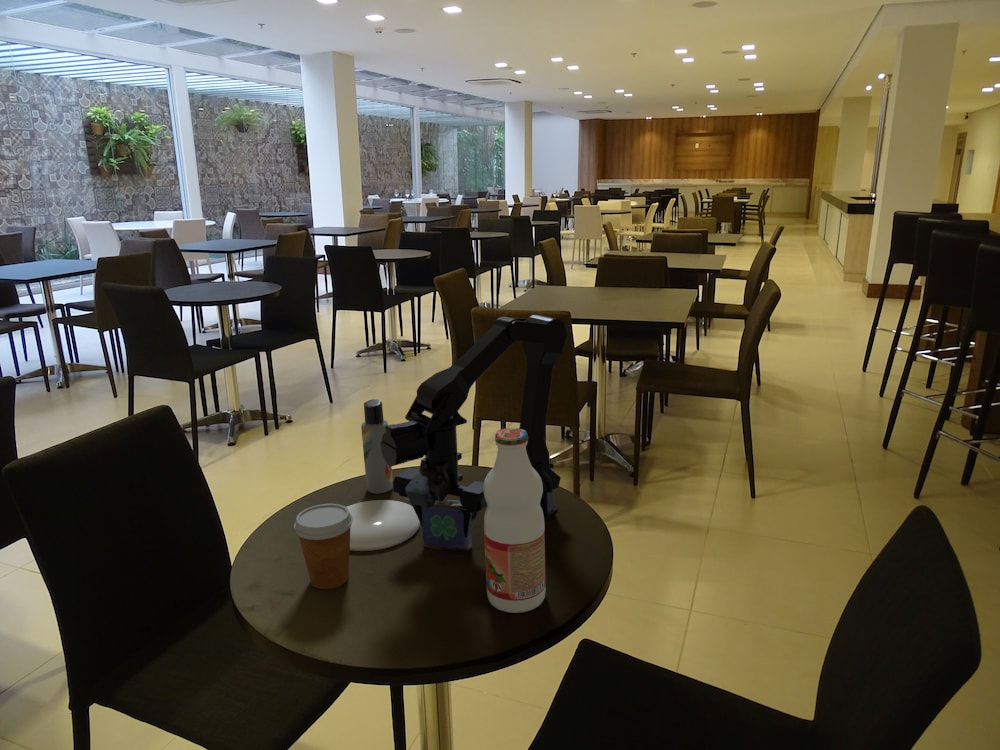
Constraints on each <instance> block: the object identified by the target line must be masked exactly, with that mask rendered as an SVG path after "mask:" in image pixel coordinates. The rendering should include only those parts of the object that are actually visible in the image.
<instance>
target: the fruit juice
mask: <svg viewBox="0 0 1000 750" xmlns="http://www.w3.org/2000/svg"><path fill="white" fill-rule="evenodd" d="M494 441H495V445H496V446H497V453H496V458H495V461H494V464H493V467H492V468H491V469H490V470H489V472H488V473H487V474H486V477H485V478H484V481H483V483H484V486H483V492H484V497H485V500H486V503H487V506H486V508H485V511H484V517H483V535H484V556H485V557H484V558H485V561H484V562H485V576H486V577H485V578H486V579H485V580H486V581H485V582H486V595H487V599H488V602H489V603H490V605H492V606H493V607H494V608H495V609H497V610H499V611H502V612H505V613H510V614H511V613H512V614H513V613H514V614H515V613H516V614H520V613H526V612H529V611H533V610H535V609H536V608H538V607H540V605H541V604H542V603H543V602H544V600H545V598H546V591H547V589H546V550H545V549H546V545H545V544H546V543H545V541H546V539H545V533H546V531H545V530H546V529H545V521H544V515H543V511H542V508H541V506H540V501H541V497H542V493H543V485H542V480H541V477H540V476H539V474H538V473H537V472H536V470H535V469H534V468H533V467H532V465H531V463H530V461H529V458H528V455H527V451H526V445H527V443H528V434H527V432H526V431H525V430H523V429H519V428H517V427H508V428H501V429H499V430H497V431H496V433H495V435H494Z"/></svg>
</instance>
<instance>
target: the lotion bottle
mask: <svg viewBox="0 0 1000 750" xmlns="http://www.w3.org/2000/svg"><path fill="white" fill-rule="evenodd" d="M383 409H384V408H383V402H382V401H381V400H379V399H369V400H367V401H364V402H363V410H364V411H363V413H364V422H362V423H361V425H360V428H361V438H362V439H361V440H362V449H363V459H364V460H363V461H364V462H363V463H364V472H365V482H366V490H367V491H368V492H369V493H370V494H371V493H372V494H375V495H377V494H379V495H380V494H385V493H388V492H390V491H391V490H393V483H392V482H393V480H394V478H393V466H390V465H388V464H387V462H386V461H385V459H384V457H383V454H382V451H381V444H380V442H381V441H382V436H383V434H384V433H386V430H385V427H386V426H387V425H389V422H388V420H385V419H384V410H383Z"/></svg>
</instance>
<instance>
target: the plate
mask: <svg viewBox="0 0 1000 750" xmlns="http://www.w3.org/2000/svg"><path fill="white" fill-rule="evenodd" d="M346 507H347V508H348V510H349V512H350V514H351V515H352V517H353V521H352V524H351V527H350V551H354V552H355V551H356V552H368V551H377V550H378V551H379V550H383V549H387V548H388V549H389V548H391V547H394V546H397V545H400V544H402V543H403V542H406V541H408V540H409V539H410V538H412V537H413V536H414V535H416V533H417V532H418V531H419V529H420V526H421V523H420V521H419V519H418V517H417V515H416V512H415V510H414V508H413V506H412V505H411V504H409V503H406V502H403V501H398V500H392V499H376V500H374V499H373V500H367V501H361V502H357V503H353V504H350V505H347V506H346Z"/></svg>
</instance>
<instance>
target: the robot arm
mask: <svg viewBox="0 0 1000 750" xmlns="http://www.w3.org/2000/svg"><path fill="white" fill-rule="evenodd" d="M567 338H568V327H567V325H565V322H564V321H563V320H561V319H558V318H554V317H552V316H551V317H550V316H546V315H541V314H532V315H530V316H529V317H528V318H520V317H508V316H500V317H498V318H496V320H495V321H494V323H493V325H492V326H491V327H490V328H489V329H488V330H487V331H486V332H485V333H484V334H483V335H482V336H481V337H479V339H477V341H476V342H474V343H473V345H472V346H470V348H469V349H468V350H467V351H466V352H465V353H464V354H463V355H462V356H460V357H459V359H458V360H456V361H455V363H453V364H452V365H450V366H449V367H448V368H445V369H442V370H440V371H438V372H436V373H434V374H432V375H431V376H430V377H428V378H427V379H426V380H424V381H423V382H421V383H420V385H419V386H418V387H417V389H416V396H415V398H414V400H413V402H412V404H411V406H410V407H409V409H408V411H407V413H406V415H405V418H404V419H405V420H406V422H401V423H397V424H396V423H395V424H394V423H393V424H388V425H387V426H386V427H385V430H386V433H384V434H383V436H382V441H381V442H380V444H381V451H382V454H383V457H384V459H385V461H386V462H387V464H388V465H390V466H392V467H395V466H398V465H402V464H405V463H408V462H412V461H415V460H420V463H419V465H420V468H419V469H418V468H413V467H408V468H407V469H405V470H403V471H402V472H400V473H398V474H397V475H395V476H394V478H393V482H392V483H393V488H392V491H393V493H396V494H398V496H399V497H401V498H404V499H405V500H407V501H408V502H409V503H410V504H409V505H411V506H412V507H413V508H414V510H415V512H416V515H417V517H418V519H419V521H420V526H421V527H422V528H423V526H422V508H421V506H423V507H425V508H430V507H432V506H433V505H434V504H435V501H443V500H444V499H445V497H446V496H447V495H448V494H449V495H448V496H450V495H451V496H455V497H459V501H460V503H461V505H462V507H461V508H460V510H461V511H462V512H463V518H464V534H465V537H466V538H467V537H469V536H470V533H471V534H472V531H473V529H474V526H475V523H476V521H477V519H478V516H479V514H480V512H481V511H482V510H483V509H486V508H487V503H486V500H485V497H484V492H483V486H484V481H477V480H474V481H473V482H471V483H470V484H468V486H465V485H461V484H460V482H461V481H463V479H464V477H463V473H459V461H460V460H461V459H462V457H463V455H462V452H458V438H457V436H458V435H457V426H461V425H465V424H467V423H468V420H467V418H465V417H463V416H462V415H461V414H460V413H459V410H460V409H461V408H462V406H463V405H464V404H465V402H467V401H466V400H467V399H468V396H469V393H470V390H471V387H473V385H474V384H475V382H476V381H477V380H478V379H480V377H481V376H482V375H484V373H485V372H486V371H487V370H488V369H490V367H491V366H492V365H493V364H494V363H495V362H497V360H498V359H499V358H500V357H501V356H502V355H503V354H504V353H505V352H506V351H507V350H508V349H509V348H510V347H511V346H512V345H513V344H514V343H515V342H516V341H519V342H520V341H521V342H522V343H521V345H522V349H523V353H524V354H525V357H526V360H527V364H526V365H527V366H526V370H525V371H526V372H525V378H524V379H525V381H524V390H523V397H522V402H521V403H522V404H521V410H520V411H521V413H520V421H519V429H523V430H525V431H526V432H527V434H528V443H527V445H526V451H527V455H528V458H529V461H530V463H531V465H532V467H533V468H534V469H535V470H536V472H537V473H538V474H539V476H540V477H541V480H542V485H543V493H542V497H541V501H540V506H541V508H542V511H543V515H544V522H546V521H547V520H548V519H549V518H550V517H551V516H552V515H553V514H554V513H555V512H556V511H557V510H558V506H557V505H555V504H554V503H555V501H554V499H555V497H554V496H555V495H554V490H555V489H558V488H559V487H560V483H561V479H562V478H561V476H560V475H558V474H557V473H556V472H555V471H554V470H552V469H551V468H550V452H549V449H548V446H547V443H546V440H545V432H546V424H547V416H548V410H549V402H550V394H551V387H552V386H551V385H552V379H553V371H554V366H555V364H556V363H557V361H558V360H559V358H560V357H561V355H562V354H563V352H564V349H565V345H566V341H567ZM424 412H426V413H428V414H430V415H431V416H427V415H426V414H423V413H424ZM423 457H424V458H423ZM485 507H486V508H485Z"/></svg>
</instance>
